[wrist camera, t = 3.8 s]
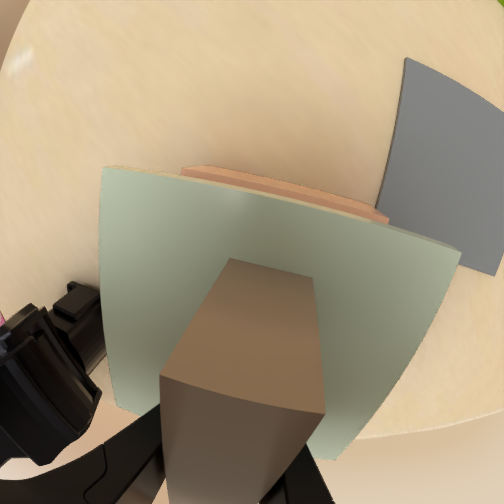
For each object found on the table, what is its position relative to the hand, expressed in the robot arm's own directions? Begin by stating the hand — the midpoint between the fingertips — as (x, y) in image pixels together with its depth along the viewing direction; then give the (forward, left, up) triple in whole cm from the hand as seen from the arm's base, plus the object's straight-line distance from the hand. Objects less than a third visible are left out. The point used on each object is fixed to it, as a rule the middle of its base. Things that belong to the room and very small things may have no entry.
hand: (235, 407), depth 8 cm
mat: (+10, -12, -13) cm, 20 cm away
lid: (0, 0, -3) cm, 3 cm away
